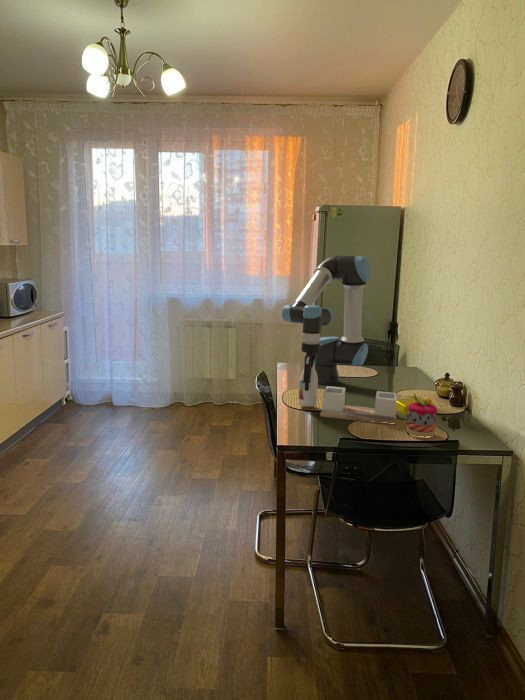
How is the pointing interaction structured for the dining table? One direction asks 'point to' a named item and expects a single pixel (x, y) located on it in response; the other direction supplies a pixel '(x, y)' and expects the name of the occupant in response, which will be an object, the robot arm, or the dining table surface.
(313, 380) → the milk bottle
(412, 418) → the cake
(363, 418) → the mounting board
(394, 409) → the mounted modules
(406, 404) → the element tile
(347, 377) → the dining table surface
